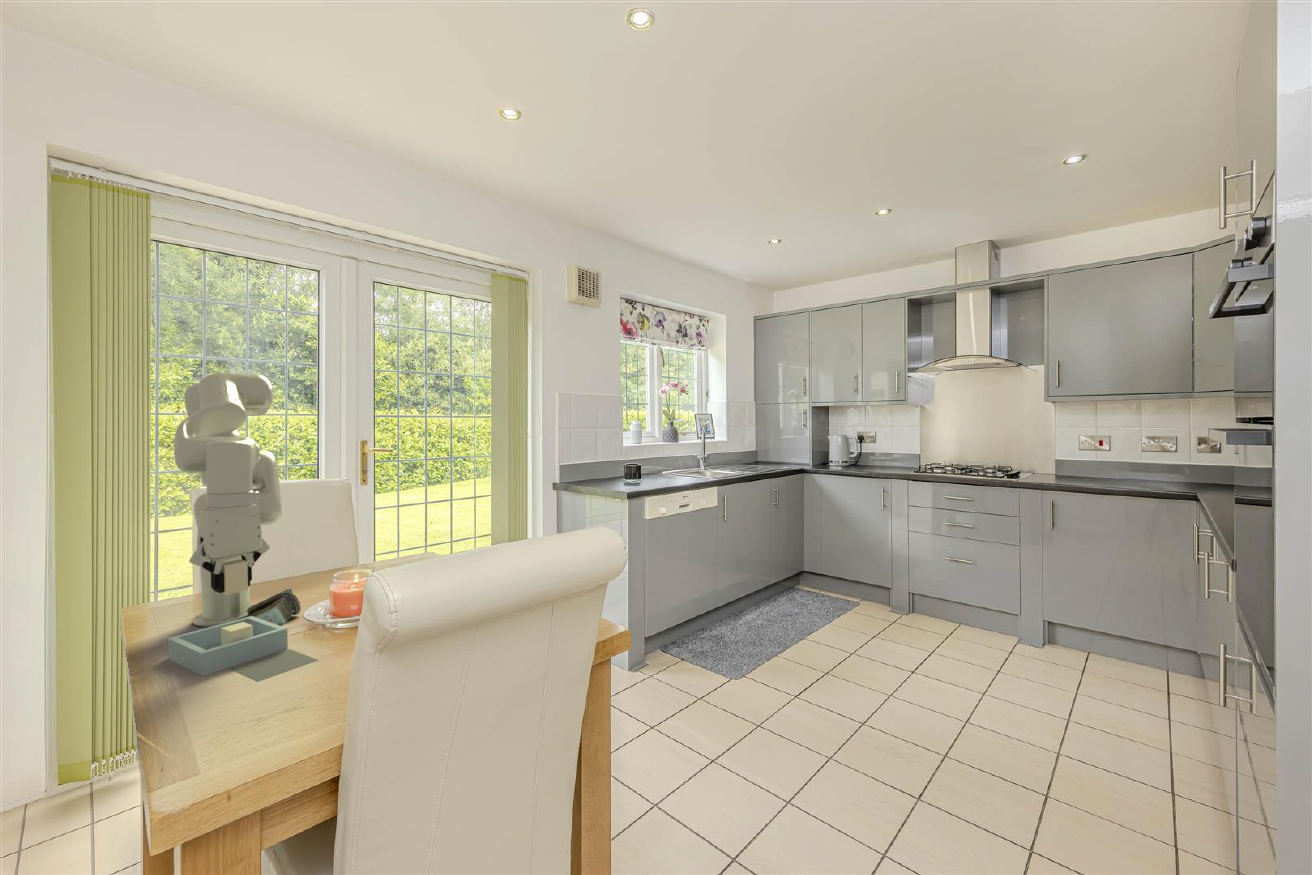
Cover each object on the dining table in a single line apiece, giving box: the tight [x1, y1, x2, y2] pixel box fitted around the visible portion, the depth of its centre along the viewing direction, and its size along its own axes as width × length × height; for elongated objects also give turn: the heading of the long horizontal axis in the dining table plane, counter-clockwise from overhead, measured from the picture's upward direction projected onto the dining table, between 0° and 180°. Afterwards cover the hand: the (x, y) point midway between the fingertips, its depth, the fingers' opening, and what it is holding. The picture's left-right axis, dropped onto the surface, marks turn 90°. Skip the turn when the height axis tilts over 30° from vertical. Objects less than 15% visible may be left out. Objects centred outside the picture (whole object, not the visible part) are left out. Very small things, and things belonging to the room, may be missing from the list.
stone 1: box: [221, 558, 248, 595], centre depth 116 cm, size 4×4×6 cm
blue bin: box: [167, 616, 289, 677], centre depth 118 cm, size 15×15×4 cm
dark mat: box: [228, 648, 318, 682], centre depth 112 cm, size 11×11×1 cm
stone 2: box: [221, 622, 253, 645], centre depth 116 cm, size 4×4×6 cm
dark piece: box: [247, 588, 301, 626], centre depth 137 cm, size 10×7×12 cm
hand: (232, 587), depth 116 cm, fingers closed on stone 1, 4 cm apart
